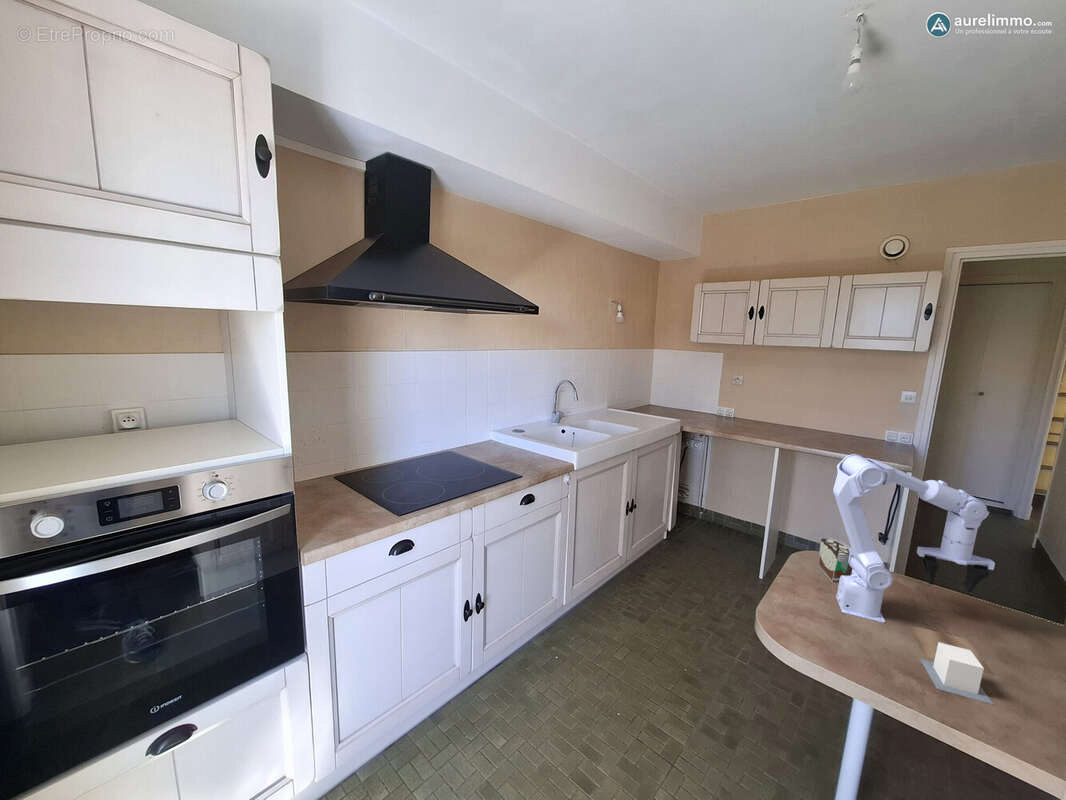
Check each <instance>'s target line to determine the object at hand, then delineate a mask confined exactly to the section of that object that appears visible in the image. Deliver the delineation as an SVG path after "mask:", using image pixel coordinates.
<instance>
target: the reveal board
mask: <svg viewBox="0 0 1066 800" xmlns="http://www.w3.org/2000/svg"><path fill="white" fill-rule="evenodd" d="M906 627H908V630H909V631H910V633H911V634H912V636H913V638H914V639H915V641H916V643H917V644H918V646H919V648H920V650H921V651H922V653H923V655H924V657H925V658H929V659H933V660H935V655H936V651H937V646H938V642H939V643H943V644H947V645H951V646H955V647H959V648H963V649H967V650H971V652H972V653H973V654H974V656H975V657H976V658H977V660H978V661H979V662H980V664H981V665H982V667H983V668H984V670H983V673H985V674H989V675H993V676H994V675H995V674H994V673H993V671H992V670H991V669H990V667H989V666H988V665H987V663H986V662H985V660H984V659H983V658H982V656H981V655H980V654H979V652H978V651H977V649H976V648H975V647H974V645H972V643H971V642H970V641H969V639H968V638H966V637H965V638H964V637H961V636H956V635H952V634H948V633H944V632H940V631H935V630H931V629H927V628H924V627H919V626H914V625H911V624H906Z"/></svg>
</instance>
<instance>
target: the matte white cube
mask: <svg viewBox="0 0 1066 800" xmlns="http://www.w3.org/2000/svg"><path fill="white" fill-rule="evenodd" d="M933 660H934V661H933V662H934V665H933V667H934V669H935V671H936V672H937V674H938V676H939V678H940V679H941V681H942V683H943V684H944V685H945V686H949V687H953V688H956V689H960V690H963V691H967V692H970V693H974V694H978V691H979V687H980V686H981V683H982V678H983V675H984V672H983V670H984V668H983V667H982V665H981V664H980V662H979V661H978V660H977V658H976V657H975V656H974V654H973V653H972V652H971V650H967V649H963V648H959V647H955V646H951V645H947V644H943V643H939V642H938V646H937V651H936V655H935V659H933Z"/></svg>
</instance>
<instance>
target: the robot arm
mask: <svg viewBox="0 0 1066 800" xmlns="http://www.w3.org/2000/svg"><path fill="white" fill-rule="evenodd" d="M836 468H837V474H836V478H835V482H834V485H833V489H832V490H833V491H832V492H833V495H834V499H835V502H836V504H837V508H838V510H839V513H840V517H841V519H842V523H843V526H844V529H845V532H846V535H847V538H848V542H849V544H850V549H849V553H850V556H849V563H848V566H849V567H850V568H851V574H850V575H845V576H844V575H841V577H840V580H839V582H838V586H837V593H836V595H835V598H836V600H837V602H838V605H839V608H840V611H841V613H843V614H846V615H851V616H854V617H859V618H863V619H866V620H871V621H875V622H879V623H883V624H885V623H886V620H885V618H884V616H883V614H882V612H881V610H882V603H883V600H884V599H883V598H884V594H885V593H884V592H885V591H886V589H888V588H889V587H890V586H891V585H893V581H894V577H893V574H892V573H891V572H890V571H889V570H888V569H887V568H886V565H885V563H884V561H883V559H882V558H881V556H880V554H879V553H878V551H877V550H876V545H875V543H874V540H873V537H872V534H871V530H870V527H869V525H868V521H867V518H866V516H865V511H864V508H863V506H862V501H861V498H862V497H864V496H865V495H867V494H869V493H871V492H872V491H874V490H876V489H877V488H879V487H881V485H883V486H888V485H889V484H891V483H893V484H896V485H899V486H901V487H904V488H906V489H909V490H911V491H914V492H916V493H917V495H918V497H919V499H921V500H923V501H925V502H927V503H929V504H932V505H934V506H936V507H938V508H940V509H943V510H945V511H947V515H946V521H945V526H944V529H943V534H942V539H941V544H940V547H924V546H917V549H916V554H917V555H918V556H919V557H921V560H922V563H923V567H924V570H925V577H926V579H925V581H926V582H927V583H928V584H929V585H934V583H935V578H936V574H937V570H938V568H939V566H940V565H939V563H938V561H937V560H943V561H949V562H954V563H956V564H958V565H963V566H966V574H965V575H966V576H965V580H964V585H963V588H964V590H966V591H967V593H972V592H973V590H975V588H976V586H977V585H978V584H979V583H981V581H983V580H984V579H985V578H988V577H989V576H990V573H991V572H990V571H994V569H995V565H996V563H995V562H994V561H993V560H992V559H990V558H986V557H981V556H979V555H978V556H977V555H974V554H973V551H974V547H975V542H976V537H977V533H978V530H979V527H981V523H982V522H983V520H986V518H987V517H988V516H989V514H990V511H988V508H987V505H986V504H985V502H983V501H982V500H980V499H978V498H976V497H974V496H972V495H970V494H969V493H967V492H966V491H964V490H963V489H956V488H953V487H951V486H948V483H947V482H945V481H943V480H942V479H941V480H940V479H939V480H934V479H929V480H922V479H919V478H917V477H916V476H915V477H914V476H913V475H910V474H908V473H906V472H904V471H902V470H901V469H900V470H899V469H897V468H895V467H893V466H891V465H889V464H886V463H884V462H881V461H878V460H875V459H873V458H868V457H866V458H865V457H864V456H862V455H860V454H855V453H853V454H848V455H846V456H844V458H843V459H842V460H841V461H840V462H839V463H838V464H837V465H836ZM989 570H990V571H989Z"/></svg>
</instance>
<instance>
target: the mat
mask: <svg viewBox="0 0 1066 800" xmlns="http://www.w3.org/2000/svg"><path fill="white" fill-rule="evenodd" d="M919 660H920V662H921V663H922V666H923V667H924V668H925V671H926V672H927V674H928V676H929V678H930V679H931V681H932V683H933V685H934V686H935V688H936V690H939V691H943V692H946V693H950V694H954V695H957V696H961V697H964V698H968V699H971V700H973V701H977V702H982V703H984V704H989V705H994V703H993V702H992V700H991V699H990V697H989V696H988V695H987V693H986V692H985V691H984V689H983V687H982V686H981V685H980V687H979V691H978V694H974V693H970V692H967V691H963V690H960V689H956V688H953V687H949V686H945V685H944V684H943V683H942V681H941V679H940V678H939V676H938V674H937V672H936V671H935V669H934V667H933V665H934V661H930V660H927V659H922V658H920V659H919Z"/></svg>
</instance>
